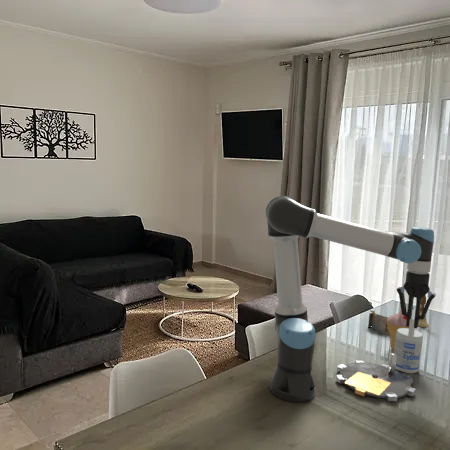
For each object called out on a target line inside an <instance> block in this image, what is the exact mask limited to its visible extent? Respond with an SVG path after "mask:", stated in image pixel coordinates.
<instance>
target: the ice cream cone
mask: <svg viewBox="0 0 450 450" xmlns="http://www.w3.org/2000/svg"><path fill="white" fill-rule="evenodd" d="M414 309H415V307H414V306H413V309H412V311H413V310H414ZM406 322H407V317H406V316H404V315H402V312H401V307H400V309H399V312H398V313H394V314H391V315H389V316H388V319H387V321H386V323H387V325H388V327H387V329H388V331H389V332H390V335H389V336H390V339H389V341H390V343H389V344H390V346H389V347H390V348H391V350H392V352H394V348H395V340H396V333H397V330H398V329H400V328H408V329H409V327H407V326H406Z"/></svg>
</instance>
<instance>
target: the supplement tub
mask: <svg viewBox="0 0 450 450" xmlns="http://www.w3.org/2000/svg"><path fill="white" fill-rule="evenodd" d="M408 332H409V329H408V328H400V329H398V330H397V333H396V340H395V348H394V351H393V353H395V354H397V359H396V367H395V370H396V371H398V372H399V371H400V372H403V373H405V374H415V373H418V372H419V369H420V362H421V356H422V355H421V354H422V347H423V339H424V337H423V336H424V335H423V333H422V332H421V331H419V330H417V329H415V331H414V336H413V338H412V337H408Z"/></svg>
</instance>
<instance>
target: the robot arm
mask: <svg viewBox="0 0 450 450" xmlns="http://www.w3.org/2000/svg"><path fill="white" fill-rule="evenodd" d="M265 217H266V219H267V220H266V221H267V222H266V224H267V236H268V237H269V238H270V239H271V240H272V242H273V253H274V267H275V278H276V279H275V280H276V292H277V293H276V294H277V303H278V305H277V306H276V307H275V308H274V321H275V323H274V330H275V333H276V338H277V345H278V346H277V347H278V348H277V360H276V367H275V370H274V372H273V374H272V377H271V379H270V382H269V390H270V389H271V390H270V392H271V391H272V392H271V393H272V395H274V396H275V397H276V398H278V397H279V399H281V400H283V401H288V402H291V403H292V402H294V403H303V401H304V402H308V401H311V400H312V399H314V398H315V396H316V389H317V388H316V384H315V379H314V375H313V361H314V353H315V352H314V351H315V340H316V329H315V326H314V325H313V323H311V322H309V321H308V320H309V317H308V307H306V306H305V305H304V304H303V297H302V296H303V295H302V282H301V280H302V279H301V269H300V254H299V253H300V252H299V243H298V241H299V240H298V239H299V237H302V238H305V239H307V238H310V237H312V238H313V237H314V238H317V239H321V240H325V241H329V242H332V243H336V244H340V245H343V246H347V247H351V248H355V249H358V250H362V251H366V252H370V253H374V254H378V255H381V256H384V257H387V258H391V259H395V260H398V261H400V262H402V263H405V264H407V265H406V269H407V270H406V274H405V282H404V283H403V286H398V287H397V288H396V292H397V294H398V297H399V305H400V308H401V312H402V315H404V316H406V317H407V322H406V326H407V327H409V332H408V337H412V338H413V336H414V331H415V330H417V329H418V328H419V326H418V324H419V320H420V319H424V318H425V316H426V317H427V313H428V311H429V307H430V306H431V303H432V300H433V299H435V298H436V296H437V294H436V293H434V292H432V291H431V289H430V285H429V283H430V272H431V268H432V267H431V266H432V256H433V249H434V244H435V242H434V241H435V231H434V230H433V229H432V228H430V227H424V226H423V227H420V226H413V227H411V230H410V232H399V231H387V230H385V231H384V230H379V229H376V228H373V227H369V226H365V225H361V224H357V223H354V222H351V221H347V220H343V219H340V218H336V217H332V216H329V215H325V214H320V213H318V212H317V211H316V209H314V208H311V207H307V206H305V205H303V204H301V203H299V202H297V201H296V200H295V199H294V198H293V197H291V196H287V195H279V196H276V197H274V198H273V199H271V200H270V201H269V203H267V205H266V208H265ZM405 292H406V294H407V296H408V302H407V304H406V298H405ZM425 295H426V303H425V306H424V309H423V312H422V314H421V315H420V309H421V300H422V297H423V296H425ZM414 299H415V301H416V302H415V303H416V304H415V312H414V317H413V310H414V309H413V307H414ZM412 309H413V310H412ZM313 397H314V398H313ZM310 399H311V400H310Z"/></svg>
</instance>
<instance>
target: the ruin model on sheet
mask: <svg viewBox="0 0 450 450" xmlns="http://www.w3.org/2000/svg"><path fill="white" fill-rule="evenodd" d="M369 311H370V312H371V313H369V315H368V321H367V322H368V324H367V328H368V327H370V326H372V327H370V328H371V329H372V328H373V329H375V330H374V331H376V330H377V331H376V332H379V331H380V332H379V333H381V332H382V334H384V335H388V336H390V332H389V331H388V329H387V327H388V325H387V323H386V321H387V319H388V318H389V316H385V315H382V314H379V313H376V311H375V310H371V309H369ZM373 329H372V330H373Z"/></svg>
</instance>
